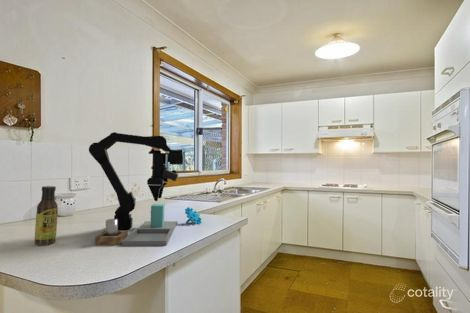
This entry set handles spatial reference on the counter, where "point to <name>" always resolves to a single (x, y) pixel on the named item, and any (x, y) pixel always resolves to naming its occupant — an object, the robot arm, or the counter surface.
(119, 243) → the square wooden tray
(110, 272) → the counter surface
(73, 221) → the counter surface
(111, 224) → the silver metal cylinder
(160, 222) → the block
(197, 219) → the blue toy frog
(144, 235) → the case
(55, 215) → the sauce bottle
